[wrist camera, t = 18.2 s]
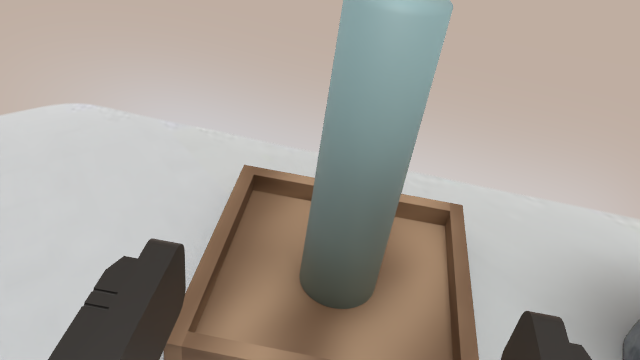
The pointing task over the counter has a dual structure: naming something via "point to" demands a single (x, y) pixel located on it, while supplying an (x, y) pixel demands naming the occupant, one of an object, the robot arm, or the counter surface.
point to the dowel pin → (368, 141)
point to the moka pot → (632, 343)
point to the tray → (305, 313)
